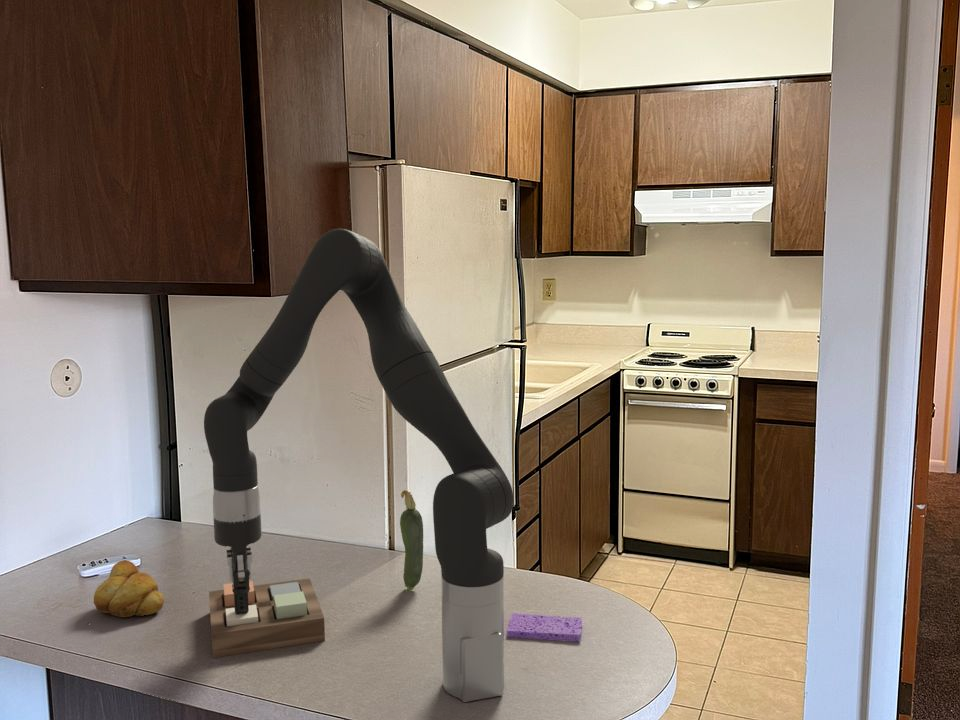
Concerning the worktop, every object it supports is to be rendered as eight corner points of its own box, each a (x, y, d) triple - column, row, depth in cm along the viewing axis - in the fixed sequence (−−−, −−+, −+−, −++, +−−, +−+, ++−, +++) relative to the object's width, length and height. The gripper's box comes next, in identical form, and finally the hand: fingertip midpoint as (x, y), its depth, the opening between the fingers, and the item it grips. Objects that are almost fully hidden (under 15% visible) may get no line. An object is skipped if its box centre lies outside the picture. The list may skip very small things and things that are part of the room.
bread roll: (176, 608, 156) (174, 566, 155) (132, 629, 148) (129, 585, 147) (128, 595, 162) (125, 554, 161) (83, 614, 154) (80, 572, 153)
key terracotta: (255, 607, 149) (254, 591, 149) (225, 611, 148) (224, 595, 147) (253, 596, 154) (252, 580, 153) (224, 600, 152) (223, 584, 152)
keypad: (324, 640, 143) (324, 617, 142) (212, 657, 137) (211, 634, 137) (310, 598, 160) (309, 578, 159) (210, 612, 154) (208, 591, 154)
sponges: (580, 645, 142) (580, 634, 142) (505, 639, 144) (505, 629, 144) (582, 626, 149) (582, 616, 148) (511, 621, 151) (511, 611, 150)
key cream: (258, 633, 142) (258, 616, 141) (227, 638, 140) (226, 621, 140) (256, 621, 146) (255, 604, 146) (226, 625, 145) (225, 608, 144)
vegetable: (426, 586, 165) (424, 486, 162) (422, 595, 161) (420, 493, 158) (403, 586, 165) (401, 486, 163) (399, 595, 161) (397, 492, 158)
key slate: (301, 608, 152) (301, 592, 151) (273, 612, 150) (272, 596, 150) (298, 597, 156) (297, 581, 156) (270, 601, 155) (269, 585, 154)
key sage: (307, 619, 144) (306, 602, 144) (277, 623, 143) (276, 606, 142) (303, 607, 149) (302, 591, 148) (274, 611, 147) (273, 595, 147)
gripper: (263, 522, 136) (268, 625, 138) (257, 498, 148) (261, 593, 150) (214, 527, 133) (219, 632, 136) (212, 503, 146) (217, 599, 148)
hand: (241, 612), depth 143 cm, fingers closed
